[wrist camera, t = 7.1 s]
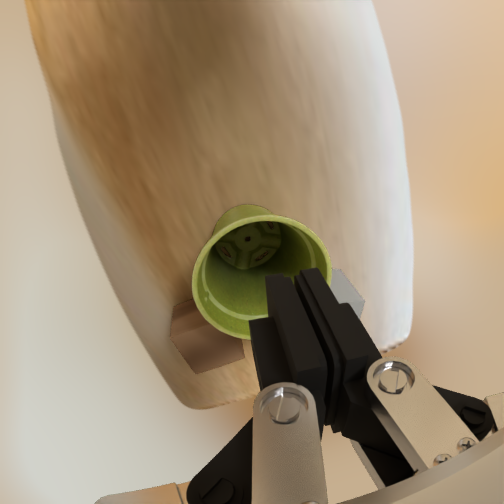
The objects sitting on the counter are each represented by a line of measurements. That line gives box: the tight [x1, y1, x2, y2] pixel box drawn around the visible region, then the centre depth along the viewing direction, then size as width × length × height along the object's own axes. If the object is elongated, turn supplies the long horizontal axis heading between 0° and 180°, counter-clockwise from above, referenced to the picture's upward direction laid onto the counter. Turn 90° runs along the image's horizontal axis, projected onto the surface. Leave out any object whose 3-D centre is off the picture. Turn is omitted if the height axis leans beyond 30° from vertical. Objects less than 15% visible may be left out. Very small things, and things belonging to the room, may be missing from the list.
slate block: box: [330, 269, 365, 319], centre depth 30 cm, size 5×5×6 cm
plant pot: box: [192, 205, 332, 340], centre depth 25 cm, size 9×9×9 cm
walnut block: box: [170, 299, 245, 374], centre depth 30 cm, size 5×5×5 cm
